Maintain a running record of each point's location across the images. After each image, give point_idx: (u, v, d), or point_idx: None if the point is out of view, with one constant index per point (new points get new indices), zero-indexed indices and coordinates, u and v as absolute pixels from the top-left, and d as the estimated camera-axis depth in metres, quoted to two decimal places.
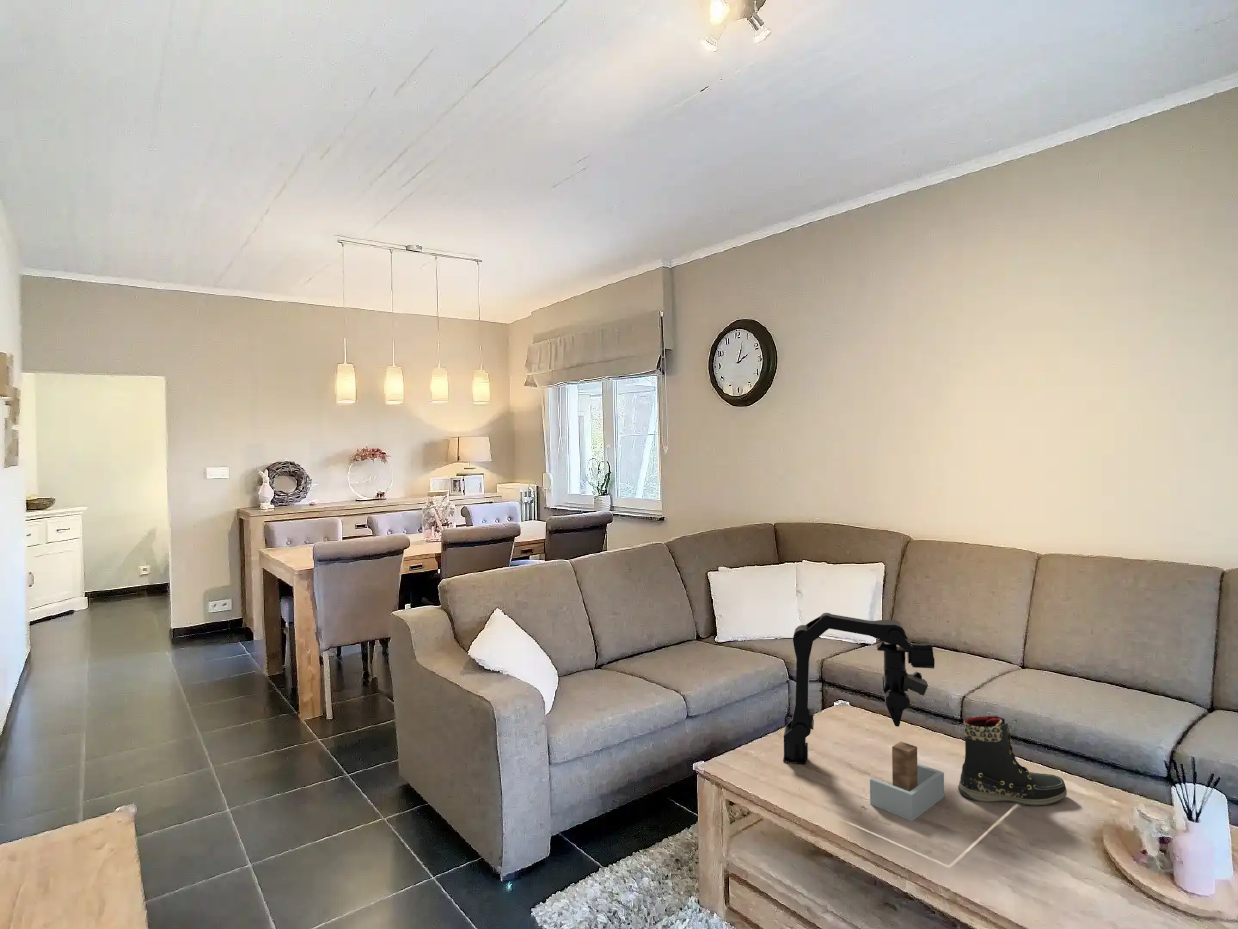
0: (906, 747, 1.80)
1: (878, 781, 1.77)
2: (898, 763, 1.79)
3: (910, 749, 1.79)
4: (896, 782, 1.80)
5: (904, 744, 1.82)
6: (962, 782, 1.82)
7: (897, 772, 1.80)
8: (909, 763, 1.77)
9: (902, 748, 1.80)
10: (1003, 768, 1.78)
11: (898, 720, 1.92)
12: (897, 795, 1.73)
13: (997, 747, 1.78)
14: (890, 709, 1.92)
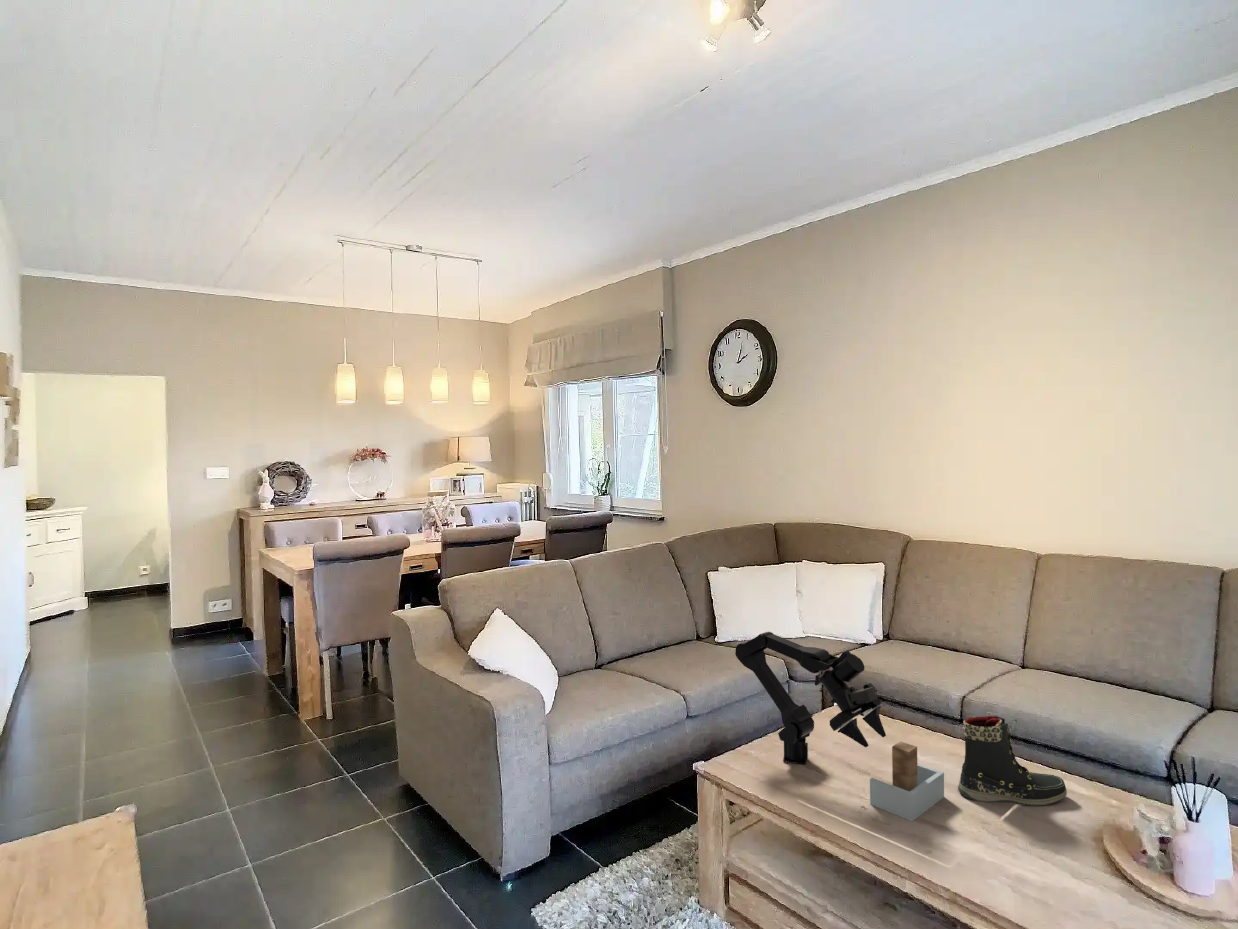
0: (906, 747, 1.80)
1: (878, 781, 1.77)
2: (898, 763, 1.79)
3: (910, 749, 1.79)
4: (896, 782, 1.80)
5: (904, 744, 1.82)
6: (962, 782, 1.82)
7: (897, 772, 1.80)
8: (909, 763, 1.77)
9: (902, 748, 1.80)
10: (1003, 768, 1.78)
11: (861, 740, 1.84)
12: (897, 795, 1.73)
13: (997, 747, 1.78)
14: (846, 733, 1.86)
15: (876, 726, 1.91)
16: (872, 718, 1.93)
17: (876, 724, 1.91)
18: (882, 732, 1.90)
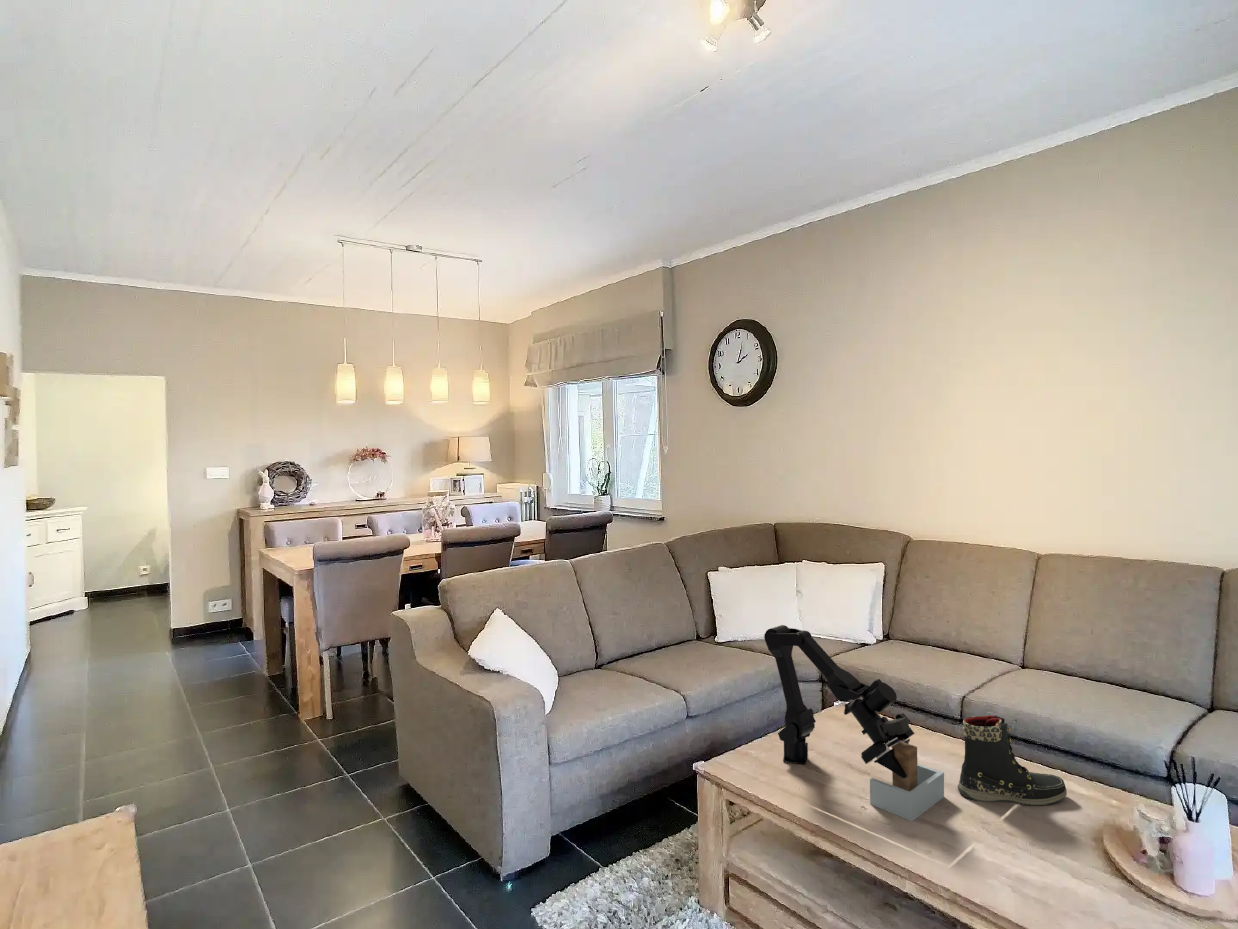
0: (906, 747, 1.80)
1: (878, 781, 1.77)
2: None
3: (910, 749, 1.79)
4: (896, 782, 1.80)
5: (904, 744, 1.82)
6: (961, 782, 1.82)
7: None
8: (909, 763, 1.77)
9: (902, 748, 1.80)
10: (1002, 768, 1.78)
11: (899, 770, 1.78)
12: (897, 795, 1.73)
13: (996, 747, 1.78)
14: (883, 763, 1.81)
15: None
16: None
17: None
18: None
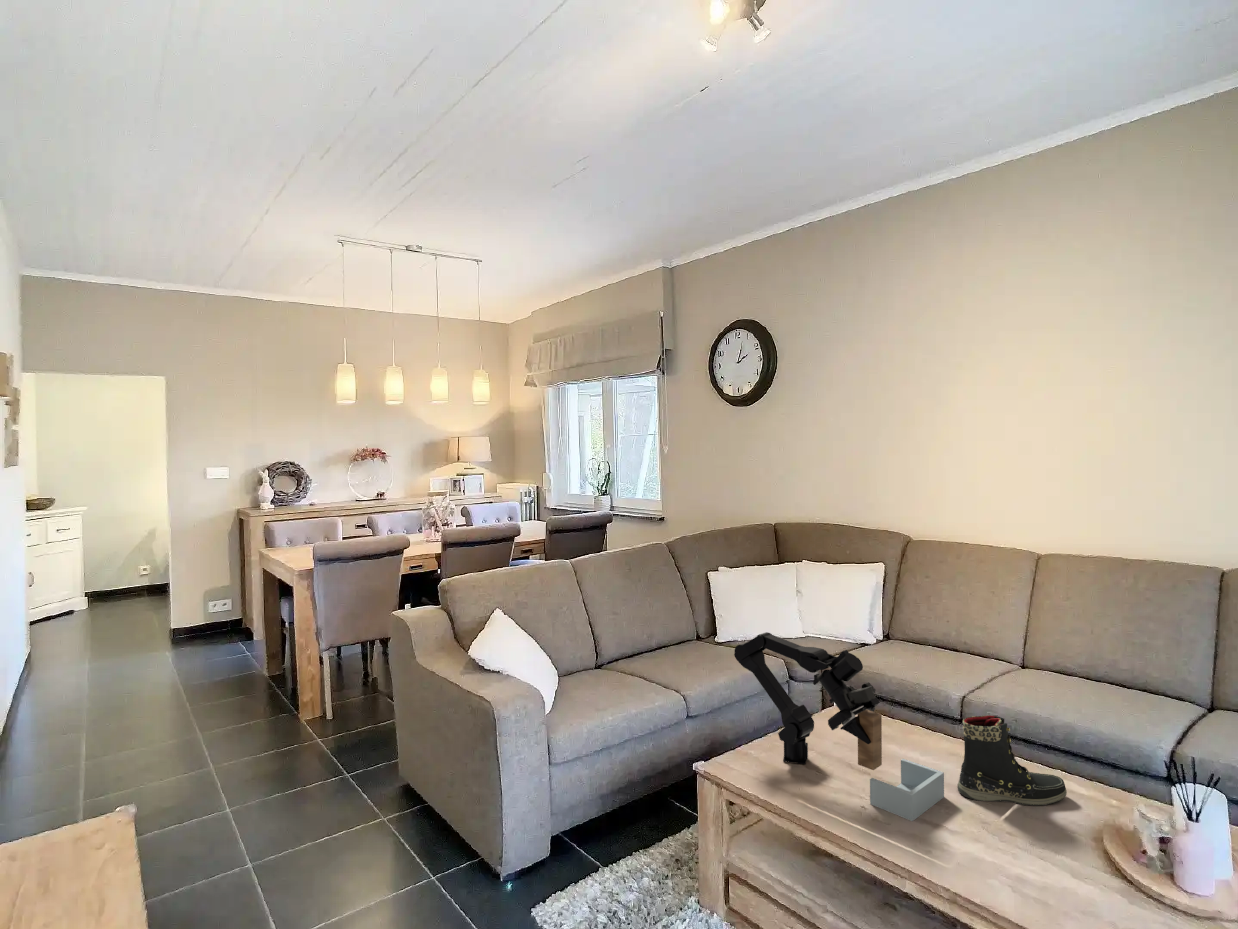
0: (871, 714, 1.88)
1: (878, 781, 1.77)
2: None
3: (874, 716, 1.86)
4: (861, 748, 1.88)
5: (869, 712, 1.89)
6: (961, 781, 1.82)
7: None
8: (873, 729, 1.85)
9: (867, 715, 1.87)
10: (1002, 768, 1.78)
11: (864, 736, 1.86)
12: (897, 795, 1.73)
13: (996, 747, 1.78)
14: (849, 730, 1.88)
15: None
16: None
17: None
18: None
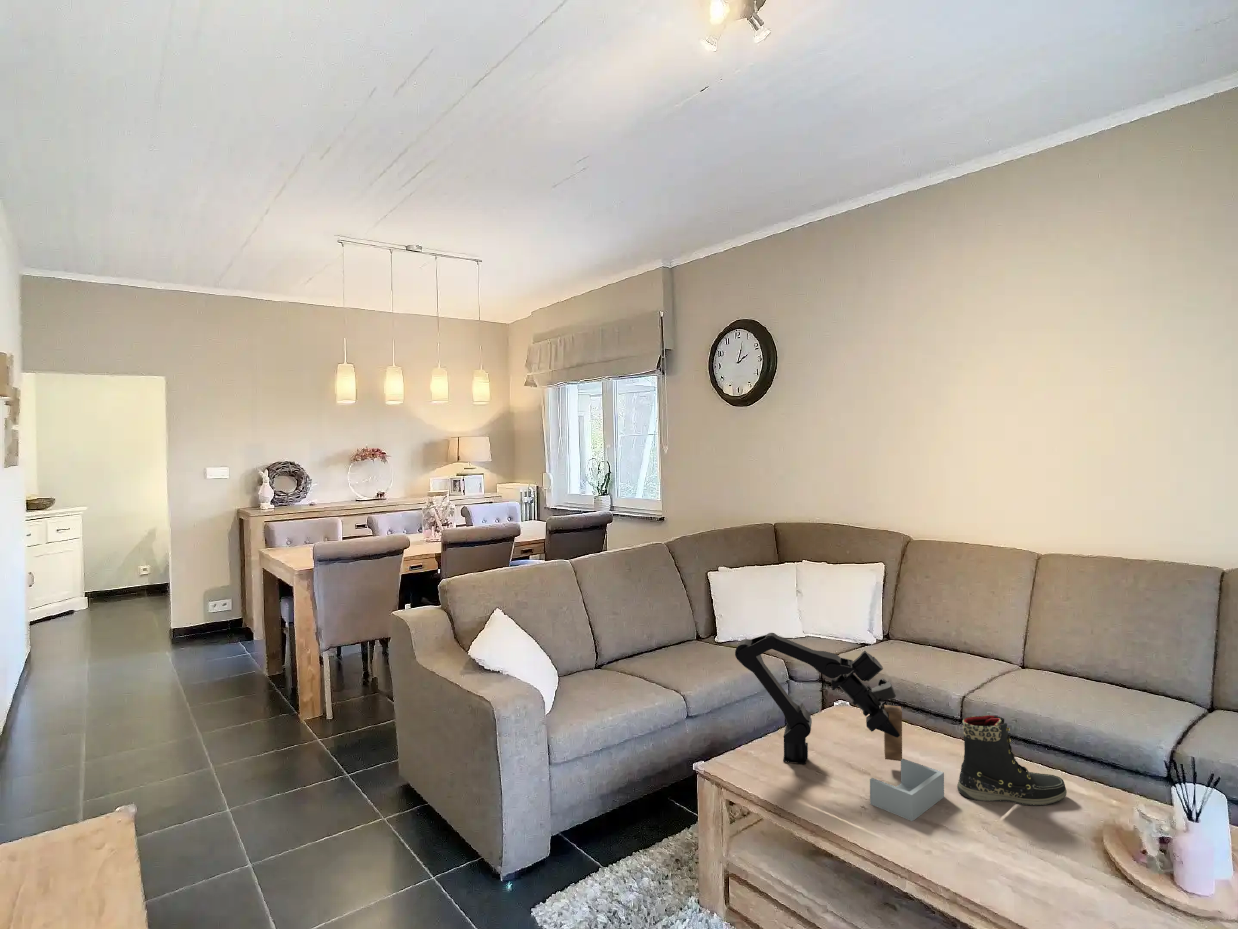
0: (894, 708, 1.97)
1: (878, 781, 1.77)
2: None
3: (900, 709, 1.96)
4: (888, 743, 1.96)
5: (890, 706, 1.99)
6: (961, 781, 1.83)
7: None
8: None
9: (893, 710, 1.96)
10: (1002, 768, 1.78)
11: (894, 731, 1.95)
12: (897, 795, 1.73)
13: (996, 746, 1.79)
14: (880, 728, 1.95)
15: None
16: None
17: None
18: None
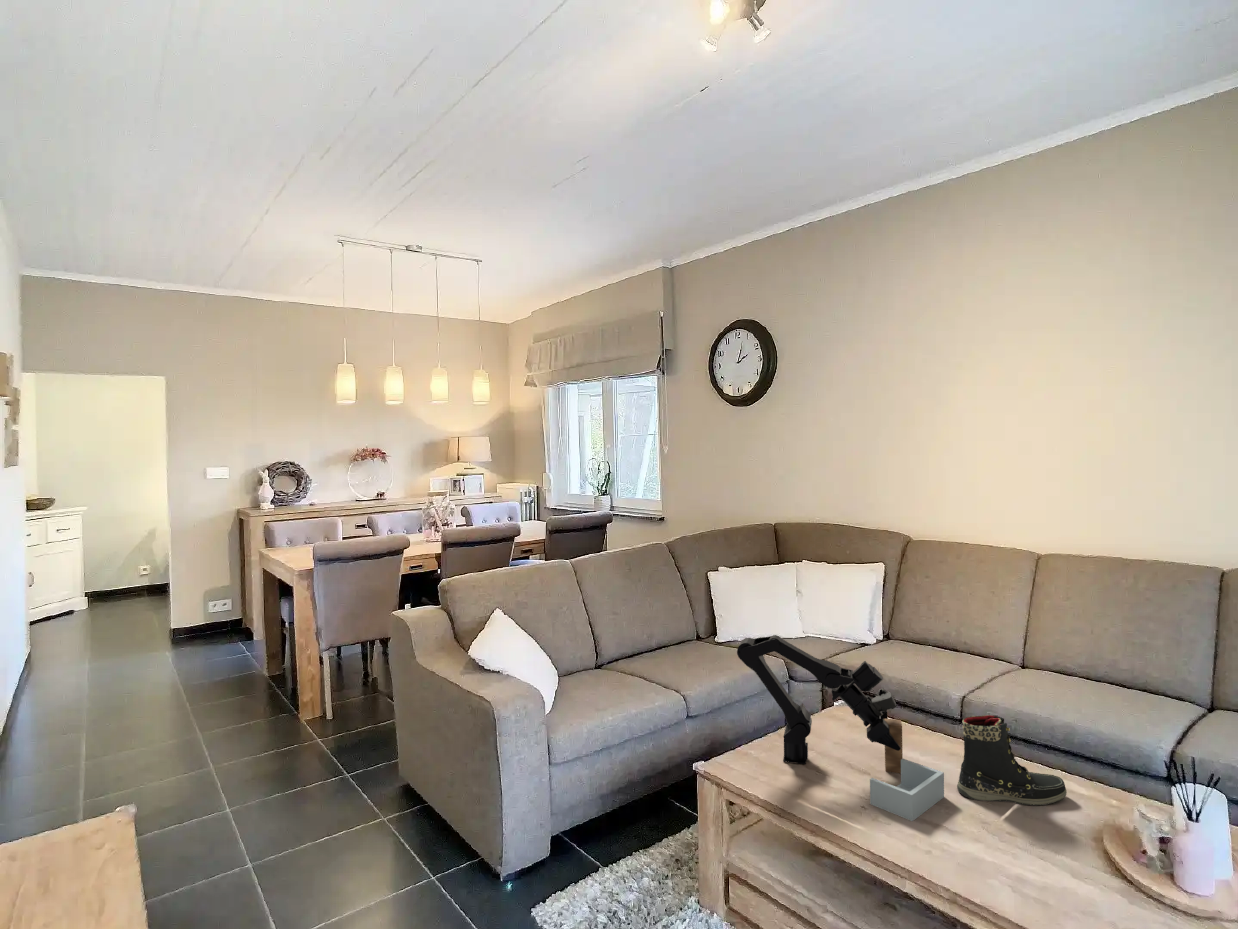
0: (895, 722, 1.97)
1: (878, 781, 1.77)
2: None
3: (900, 723, 1.96)
4: (889, 757, 1.96)
5: (890, 720, 1.99)
6: (961, 781, 1.83)
7: None
8: None
9: (893, 724, 1.96)
10: (1001, 767, 1.78)
11: (895, 744, 1.93)
12: (897, 795, 1.73)
13: (996, 746, 1.79)
14: (880, 741, 1.93)
15: None
16: None
17: None
18: None
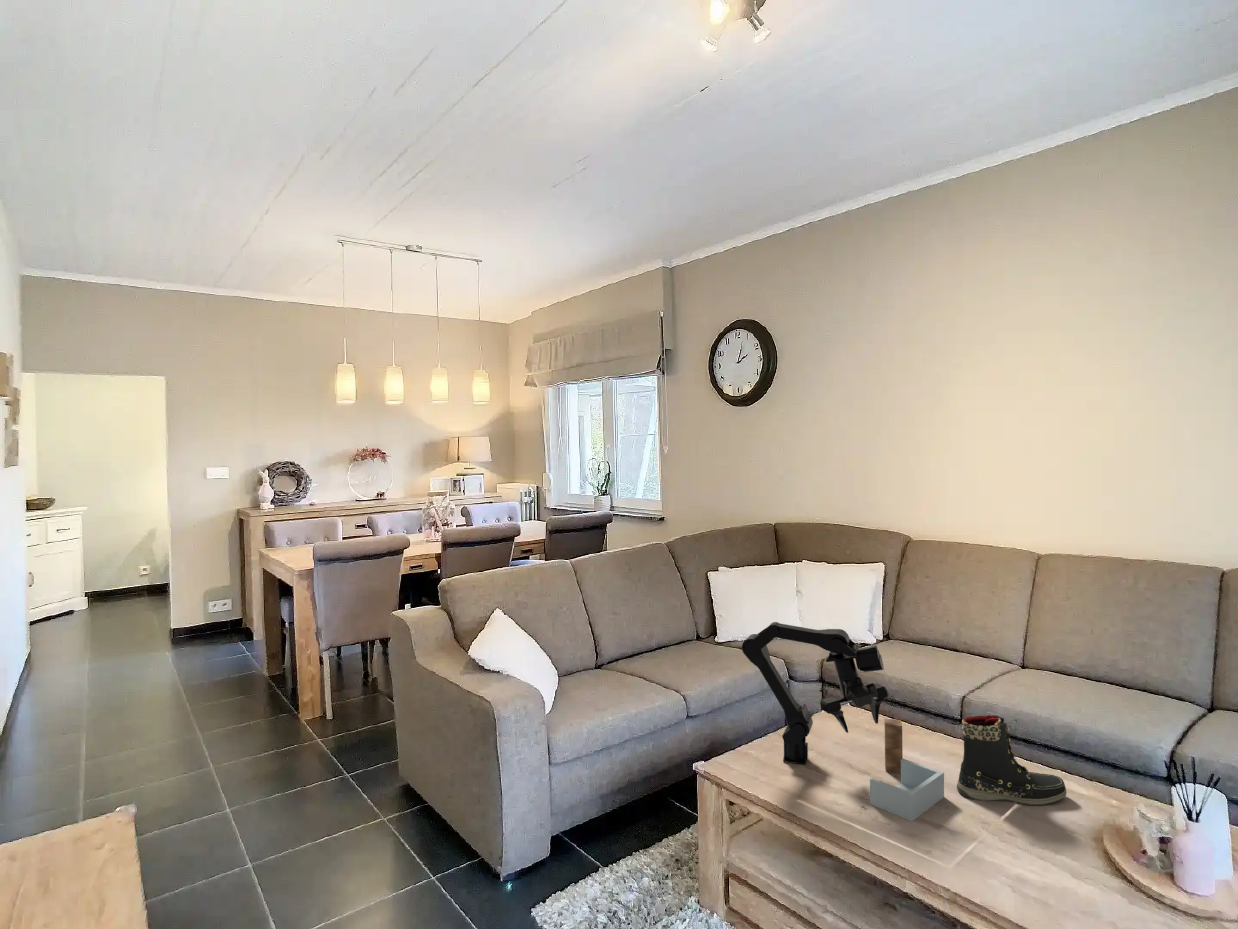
0: (895, 722, 1.97)
1: (878, 781, 1.77)
2: (891, 738, 1.96)
3: (900, 723, 1.96)
4: (889, 757, 1.96)
5: (890, 720, 1.99)
6: (960, 781, 1.83)
7: (890, 747, 1.96)
8: None
9: (893, 724, 1.96)
10: (1001, 767, 1.78)
11: (843, 726, 1.98)
12: (897, 795, 1.73)
13: (995, 746, 1.79)
14: None
15: (873, 712, 1.99)
16: (872, 704, 1.99)
17: (873, 711, 1.99)
18: (875, 720, 1.99)
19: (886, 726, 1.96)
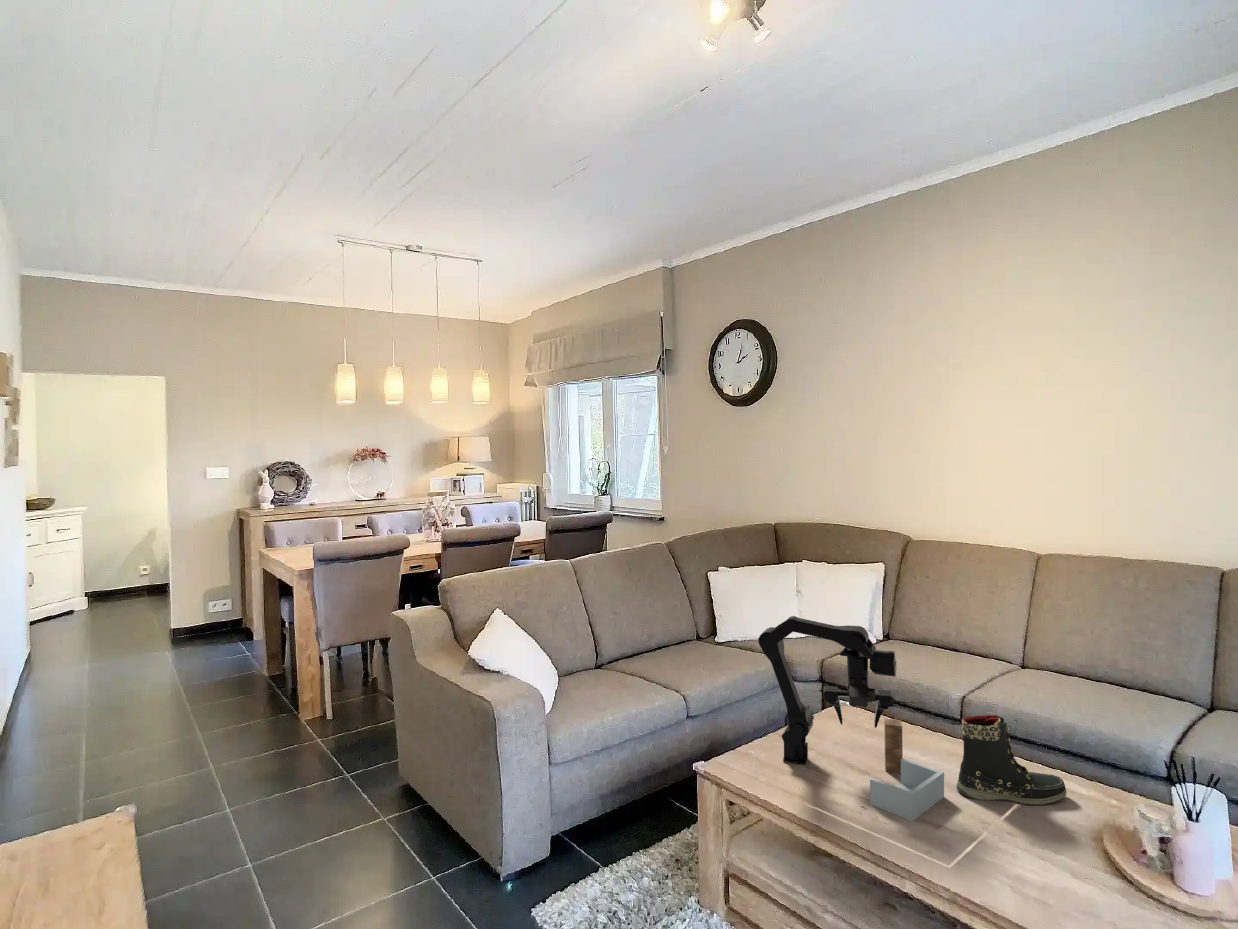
0: (895, 722, 1.97)
1: (878, 781, 1.77)
2: (891, 738, 1.96)
3: (900, 723, 1.96)
4: (889, 757, 1.96)
5: (890, 720, 1.99)
6: (960, 780, 1.83)
7: (890, 747, 1.96)
8: None
9: (893, 724, 1.96)
10: (1000, 767, 1.78)
11: (838, 717, 1.99)
12: (897, 795, 1.73)
13: (995, 746, 1.79)
14: None
15: (875, 716, 1.97)
16: (876, 708, 1.96)
17: (875, 715, 1.97)
18: None
19: (886, 726, 1.96)
